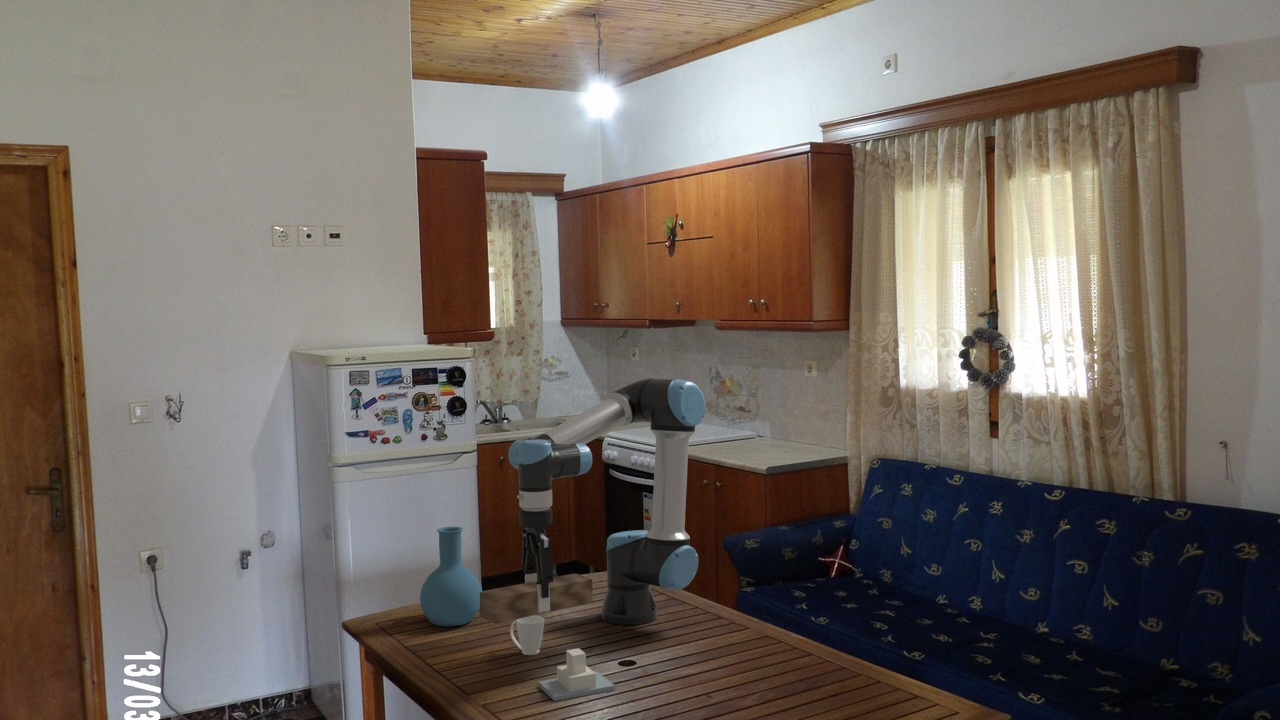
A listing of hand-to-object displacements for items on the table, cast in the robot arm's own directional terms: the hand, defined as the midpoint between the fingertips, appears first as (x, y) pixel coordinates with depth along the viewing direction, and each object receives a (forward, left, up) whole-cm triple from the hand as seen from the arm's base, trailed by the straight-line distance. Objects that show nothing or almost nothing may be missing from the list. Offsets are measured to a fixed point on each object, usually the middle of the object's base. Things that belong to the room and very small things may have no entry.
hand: (537, 606), depth 233 cm
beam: (0, 0, -1) cm, 1 cm away
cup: (-2, -15, -15) cm, 22 cm away
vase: (+8, -47, -15) cm, 50 cm away
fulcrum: (-4, +14, -15) cm, 21 cm away
